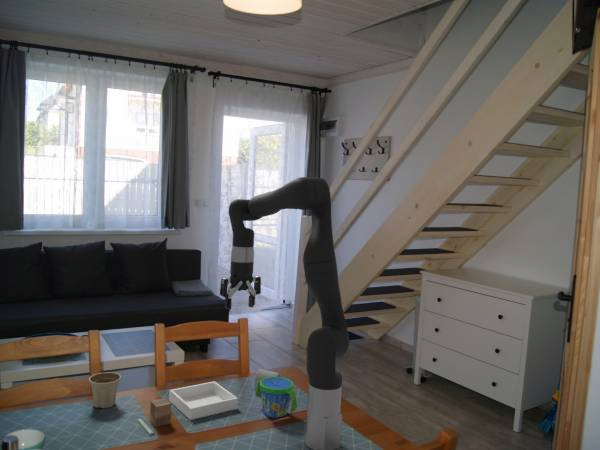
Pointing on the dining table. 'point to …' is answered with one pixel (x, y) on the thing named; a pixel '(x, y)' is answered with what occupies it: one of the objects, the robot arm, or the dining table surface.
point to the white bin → (202, 400)
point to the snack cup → (276, 396)
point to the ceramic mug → (263, 376)
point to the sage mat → (145, 427)
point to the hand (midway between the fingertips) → (239, 308)
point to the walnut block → (160, 412)
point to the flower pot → (104, 388)
